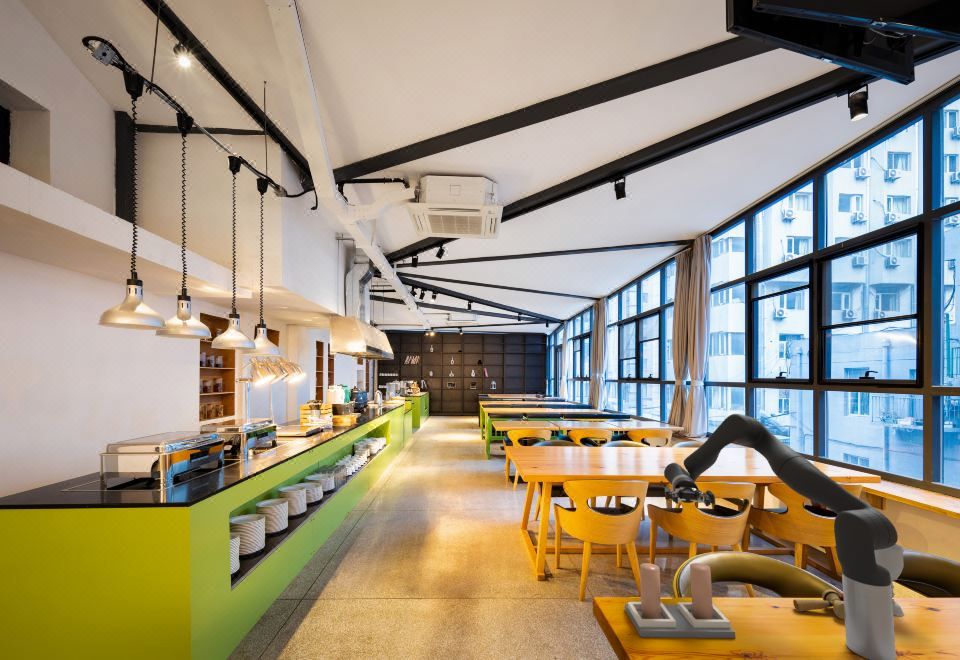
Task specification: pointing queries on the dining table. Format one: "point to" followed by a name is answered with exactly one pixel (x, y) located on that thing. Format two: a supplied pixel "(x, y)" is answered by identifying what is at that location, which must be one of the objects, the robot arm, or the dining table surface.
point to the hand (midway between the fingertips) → (692, 501)
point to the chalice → (892, 568)
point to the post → (701, 591)
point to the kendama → (823, 603)
